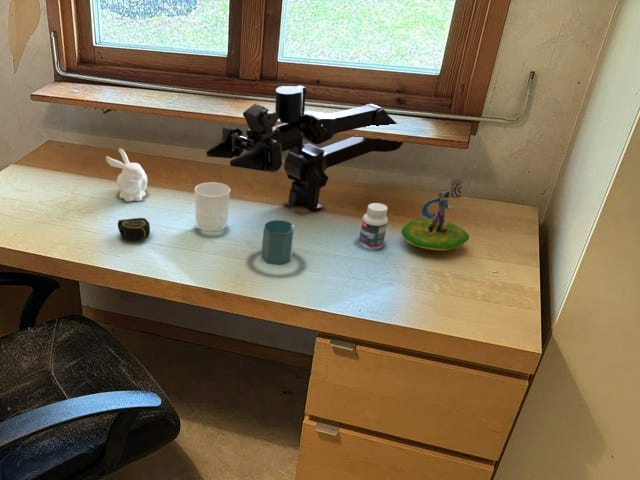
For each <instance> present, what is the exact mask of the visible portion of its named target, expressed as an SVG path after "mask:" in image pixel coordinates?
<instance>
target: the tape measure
mask: <svg viewBox="0 0 640 480" xmlns="http://www.w3.org/2000/svg"><path fill="white" fill-rule="evenodd" d="M117 229H118V232H119V234H120V236H121V238H122V239H123V240H125V241H127V242H128V241H129V242H138V241H144V240H146V239H147V238H148V237H149V236H150V233H151V226H150V221H148V219H147V218H144V217H135V218H126V219H119V220H118V221H117Z"/></svg>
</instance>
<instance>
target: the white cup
mask: <svg viewBox="0 0 640 480" xmlns="http://www.w3.org/2000/svg"><path fill="white" fill-rule="evenodd" d="M230 197H231V187H230V186H228V185H227V184H225V183H222V182H216V181H209V182H208V181H207V182H203V183H199V184H197V185H196V186H195V188H194V211H195V220H196V221H195V222H196V223H195V226H196V229H199V230H201V231H207V232H219V231H221V230H224V229H225V228H227V224H228V223H227V222H228V219H229V218H228V217H229V209H230Z"/></svg>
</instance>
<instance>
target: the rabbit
mask: <svg viewBox="0 0 640 480" xmlns="http://www.w3.org/2000/svg"><path fill="white" fill-rule="evenodd" d="M118 153H119V154H120V155H121V158H122V161H123V162H121V161H120V160H118V159H115V158H111V157H110V156H109V155H106V156H105V161H106V163H107V164H108V165H109V166H111V167H114V168H118V169H122V170H121V173H119V174H118V176H117V177H116V185H117V187H118V189H119V190H120V193H119V198H120V199H123V200H124V201H125V202H129V203H130V202H133V201H135V202H140V201H142V200H143V198H144V197H146V191H145V190H146V189H147V186H148V182H149V180H148V175H147V173H146V172H145V169H144V168H143V167H142V166H141V164H139V163H138V162H130V159H129V158H128V155H127V154H126V152H125V150H124V149H123V148H122V147H120V148H118Z"/></svg>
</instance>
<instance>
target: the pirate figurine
mask: <svg viewBox="0 0 640 480" xmlns="http://www.w3.org/2000/svg"><path fill="white" fill-rule="evenodd" d="M450 183H451V189H449V190H446V189H442V190H440V193H438V194H437V196H438V198H433V199H430V200H429V201H427V202H425V204H424V205H423V206H422V208H421V211H420V212H421V215H422V216H423V217H424V218H416V219H414V220H411V221H409V222H407V223H406V224H405V225H404V226H403V227H402V228H401V231H400V233H401V235H402V237H403V238H404V240H405V241H406V242H407V243H409V244H411V245H413V246H415V247H418V248H420V249H425V250H432V251H449V250H452V249H454V248H457V247H460V246H463V245H464V244H465V243H466V242H467V241H469V239H470V235H469V233H468V232H467V231H466V230H464V229H463V228H462V227H460V226H458V225H457V224H455V223H452V222H450V221H445V216H446V215H445V213H446V212H445V211H446V210H450V209H451V210H453V208H452V206H453V204H450V205H449V203H448V201H449V200H448V198H450V199H451V198H455V199H456V198H461V197H462V196H463V194H462V188H463V183H464V181H463V179H460V178H455V179H452V180H451V182H450ZM450 192H451V193H450ZM434 203H438V211H437V214H436V213H435V212H433V213H430V212H429V211H428V207H429V206H430V205H431V204H434Z"/></svg>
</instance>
